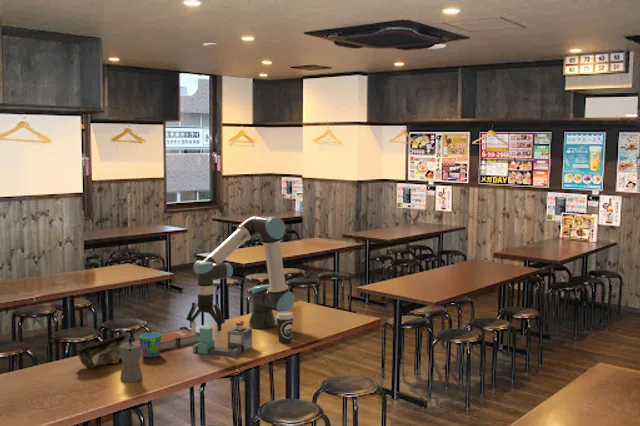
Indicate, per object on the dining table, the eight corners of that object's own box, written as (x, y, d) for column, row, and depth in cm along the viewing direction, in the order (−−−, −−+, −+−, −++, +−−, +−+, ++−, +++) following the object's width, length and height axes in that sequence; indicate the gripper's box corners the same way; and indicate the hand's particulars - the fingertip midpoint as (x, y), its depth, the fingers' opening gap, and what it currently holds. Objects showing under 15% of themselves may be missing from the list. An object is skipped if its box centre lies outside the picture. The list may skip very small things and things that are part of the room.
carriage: (206, 348, 326) (205, 325, 325) (214, 349, 325) (214, 326, 323) (197, 352, 319) (197, 329, 318) (206, 354, 317) (206, 330, 316)
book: (155, 353, 321) (155, 343, 320) (139, 345, 334) (139, 335, 333) (201, 342, 338) (201, 333, 337) (185, 335, 351) (184, 326, 350)
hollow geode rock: (79, 382, 293) (91, 363, 285) (67, 358, 297) (78, 340, 290) (132, 364, 314) (144, 346, 307) (120, 342, 319) (132, 325, 311)
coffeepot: (141, 383, 278) (140, 342, 276) (118, 385, 276) (117, 343, 274) (143, 371, 293) (142, 332, 291) (121, 373, 291) (120, 333, 289)
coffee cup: (295, 339, 343) (295, 311, 342) (292, 344, 334) (292, 315, 332) (277, 338, 344) (277, 310, 343) (274, 343, 335) (274, 315, 333)
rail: (200, 348, 327) (199, 342, 327) (241, 353, 319) (241, 346, 319) (192, 352, 320) (192, 346, 320) (234, 357, 313) (234, 351, 312)
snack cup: (138, 352, 321) (137, 331, 320) (160, 349, 324) (159, 329, 323) (140, 361, 306) (140, 340, 305) (163, 359, 310) (163, 338, 309)
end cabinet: (236, 345, 331) (235, 326, 330) (252, 347, 328) (251, 328, 327) (227, 351, 323) (227, 331, 322) (243, 352, 320) (243, 333, 319)
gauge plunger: (238, 332, 327) (238, 320, 327) (245, 333, 326) (245, 321, 325) (234, 335, 324) (234, 322, 323) (241, 335, 322) (241, 323, 322)
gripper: (179, 293, 320) (179, 335, 321) (224, 297, 311) (224, 340, 313) (187, 290, 327) (187, 331, 328) (231, 294, 318) (231, 336, 320)
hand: (205, 336), depth 321 cm, fingers open, 13 cm apart
